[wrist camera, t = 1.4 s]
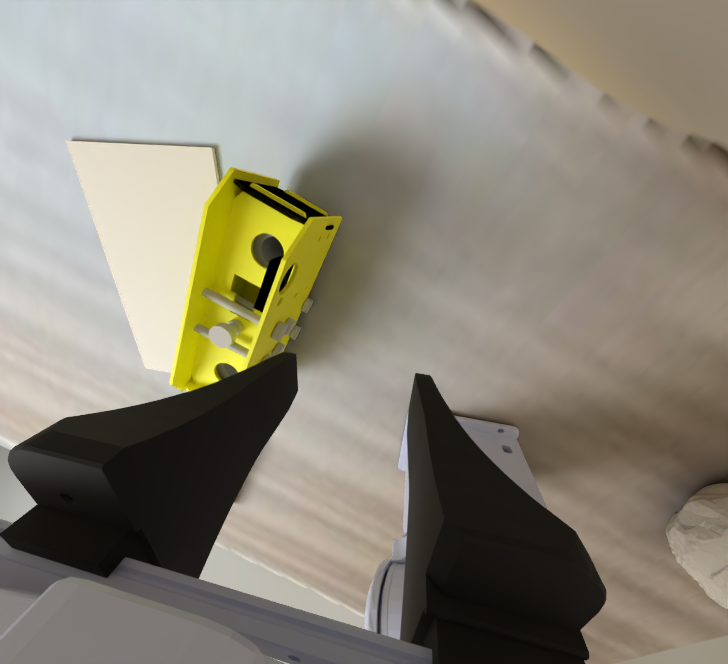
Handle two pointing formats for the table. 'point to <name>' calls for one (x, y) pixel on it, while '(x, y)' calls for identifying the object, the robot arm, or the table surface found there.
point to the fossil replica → (704, 540)
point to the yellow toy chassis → (248, 277)
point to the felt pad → (148, 230)
